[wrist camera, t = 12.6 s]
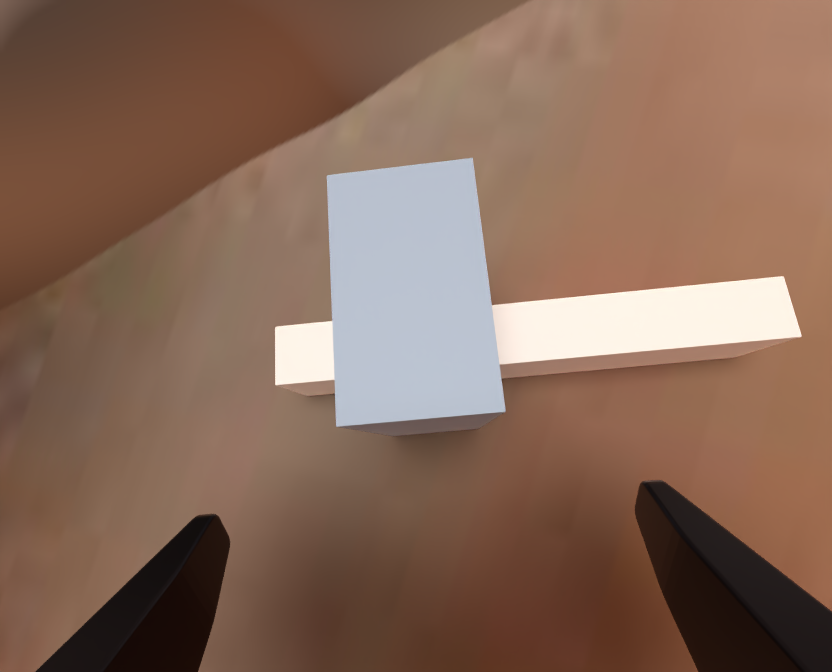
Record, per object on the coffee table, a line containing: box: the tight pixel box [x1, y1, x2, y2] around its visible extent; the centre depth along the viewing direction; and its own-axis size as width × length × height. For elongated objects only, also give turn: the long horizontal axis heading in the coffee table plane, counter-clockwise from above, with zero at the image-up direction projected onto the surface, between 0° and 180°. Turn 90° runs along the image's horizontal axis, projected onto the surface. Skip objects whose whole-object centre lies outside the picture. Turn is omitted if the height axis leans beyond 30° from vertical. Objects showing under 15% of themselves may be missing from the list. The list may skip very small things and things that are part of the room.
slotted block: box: [327, 158, 506, 436], centre depth 16 cm, size 7×4×10 cm, turn 5°
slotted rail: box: [275, 276, 802, 396], centre depth 19 cm, size 2×20×4 cm, turn 94°
